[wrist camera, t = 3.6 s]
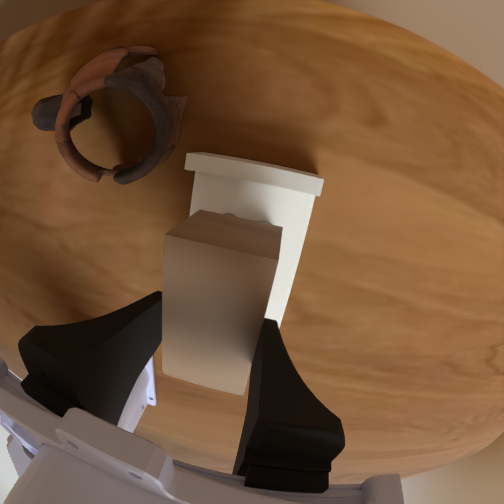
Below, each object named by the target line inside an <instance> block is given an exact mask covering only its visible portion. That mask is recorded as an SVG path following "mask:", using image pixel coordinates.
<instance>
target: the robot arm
mask: <svg viewBox="0 0 504 504" xmlns="http://www.w3.org/2000/svg"><path fill="white" fill-rule="evenodd" d="M161 341H162V292H160V291H156V292H154V293H152V294H150V295H148V296H146V297H144V298H142V299H140V300H138V301H136V302H134V303H132V304H130V305H128V306H126V307H123V308H121V309H119V310H117V311H114V312H112V313H109V314H107V315H104V316H101V317H98V318H94V319H91V320H86V321H82V322H77V323H72V324H65V325H54V326H35V327H33V328H32V329H31V330H30V331H29V332H28V333H27V334H26V335H25V336H23V337H22V338H21V339H20V340H19V343H18V347H19V352H20V355H21V357H22V360H23V362H24V364H25V366H26V369H27V371H28V373H29V374H28V375H27V377H26V378H25V379H24V380H23V381H21V380H19V379H18V378H17V377H16V376H15V375H13V374H12V373H11V372H10V371H8V367H7V365H6V363H5V361H4V360H3V359H2V357H1V356H0V425H1V426H3V427H4V428H5V429H6V430H7V431H8V432H9V433H10V435H9V437H8V438H7V441H8V444H7V449H8V452H9V454H10V457H11V459H12V461H13V464H14V466H15V469H16V471H17V473H18V476H19V479H18V480H17V482H16V483H15V485H14V487H13V488H12V490H11V491H10V493H9V495H8V496H7V498H6V499H5V501H4V503H3V504H404V500H403V492H402V486H401V480H400V474H388V475H378V476H373V477H370V478H368V479H366V480H365V481H364V482H363V483H362V484H340V485H329V474H328V472H330V471H331V462H332V461H333V460H334V459H335V458H336V457H337V456H338V455H339V453H340V452H341V451H342V450H343V449H344V447H345V436H344V431H343V427H342V423H341V420H340V419H339V418H338V417H337V416H336V415H334V414H333V413H332V412H331V411H330V410H328V409H327V408H326V407H325V406H324V405H323V404H322V403H321V402H320V401H319V400H318V399H317V398H316V397H315V396H314V394H313V393H312V392H311V391H310V389H309V388H308V387H307V386H306V384H305V383H304V382H303V380H302V379H301V377H300V375H299V374H298V372H297V371H296V369H295V367H294V365H293V363H292V361H291V359H290V357H289V355H288V353H287V350H286V348H285V345H284V343H283V340H282V337H281V334H280V331H279V327H278V322H277V321H276V320H273V319H268V318H264V321H263V324H262V327H261V331H260V335H259V339H258V343H257V346H256V350H255V354H254V357H253V361H252V365H251V373H250V383H249V394H248V404H247V411H246V416H245V421H244V426H243V430H242V435H241V439H240V444H239V448H238V452H237V456H236V461H235V465H234V469H233V473H232V474H228V473H223V472H218V471H214V470H210V469H206V468H202V467H198V466H195V465H191V464H188V463H184V462H181V461H178V460H174V459H172V458H171V457H170V455H169V454H168V452H167V451H166V450H164V449H163V448H162V447H160V446H159V445H157V444H156V443H154V442H152V441H150V440H148V439H145V438H143V437H141V436H139V435H136V434H134V433H133V431H134V429H135V427H136V425H137V423H138V421H139V420H140V418H141V416H142V414H143V412H144V410H145V408H146V406H147V404H150V405H153V406H155V405H156V403H157V402H156V392H155V380H154V367H153V354H154V352H155V351H156V349H157V348H158V346H159V345H160V343H161Z"/></svg>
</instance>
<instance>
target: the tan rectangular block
mask: <svg viewBox="0 0 504 504" xmlns="http://www.w3.org/2000/svg"><path fill="white" fill-rule="evenodd" d="M282 230H283V227H281V226H276V225H272V224H267V223H263V222H258V221H253V220H249V219H244V218H239V217H235V216H230V215H225V214H220V213H215V212H210V211H205V210H198V211H197V212H196V213H194V214H193V215H191V216H190V217H189V218H187V219H186V220H184V221H183V222H182V223H180V224H179V225H177V226H176V227H175V228H173V229H172V230H171V231H169V232H168V233H167V234H165V242H164V259H163V281H162V367H163V374H166V375H169V376H172V377H176V378H179V379H182V380H185V381H188V382H192V383H195V384H199V385H202V386H206V387H210V388H213V389H217V390H221V391H225V392H229V393H233V394H238V395H242V396H243V395H244V391H245V388H246V384H247V380H248V377H249V373H250V370H251V365H252V361H253V357H254V354H255V350H256V346H257V343H258V339H259V335H260V331H261V327H262V324H263V321H264V317H265V313H266V309H267V305H268V302H269V298H270V294H271V290H272V286H273V282H274V278H275V274H276V270H277V265H278V261H279V254H280V246H281V238H282Z"/></svg>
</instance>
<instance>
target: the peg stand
mask: <svg viewBox="0 0 504 504" xmlns="http://www.w3.org/2000/svg"><path fill="white" fill-rule="evenodd" d="M184 170H191V171H195V178H194V185H193V192H192V200H191V208H190V216H191V215H193V214H194V213H196V212H197V211H198V210H205V211H210V212H215V213H220V214H225V215H230V216H235V217H239V218H244V219H249V220H253V221H258V222H263V223H267V224H272V225H276V226H281V227H283V230H282V238H281V246H280V254H279V261H278V265H277V270H276V274H275V278H274V282H273V286H272V290H271V294H270V298H269V302H268V305H267V309H266V313H265V317H264V318H268V319H273V320H276V321H277V322H278V327H279V328H280V324H281V321H282V318H283V314H284V311H285V308H286V304H287V301H288V297H289V294H290V290H291V287H292V283H293V280H294V276H295V272H296V269H297V265H298V262H299V258H300V254H301V250H302V247H303V243H304V239H305V235H306V231H307V227H308V223H309V219H310V215H311V211H312V207H313V203H314V199H315V195H316V196H320V194H321V190H322V186H323V182H324V179H323V178H322V177H321V176H320V175H318V174H314V173H310V172H305V171H301V170H297V169H292V168H288V167H283V166H278V165H274V164H269V163H264V162H259V161H253V160H248V159H243V158H237V157H231V156H225V155H219V154H212V153H206V152H194V153H187V155H186V161H185V168H184ZM190 216H189V217H190Z"/></svg>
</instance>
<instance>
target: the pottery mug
mask: <svg viewBox="0 0 504 504" xmlns="http://www.w3.org/2000/svg"><path fill="white" fill-rule="evenodd" d="M158 53H159V51H158V50H156V49H155V48H152V47H148V46H132V47H128V48H124V47H117V48H114V49H111V50H108V51H105V52H103V53H101V54H99V55H98V56H96V57H95V58H93V59H92V60H90V61H89V62H88V63H87V64H85V65H84V66H83V67H82V68H81V69H80V70H79V71H78V72H77V73H76V74H75V75H74V77H73V78H72V80H71V82H70V85H69V86H68V87H67V88H66V90H65V91H64V93H63V94H62V95H55V96H51V97H47V98H43V99H41V100H39V101H38V102H37V103H36V104H35V105H34V107H33V110H32V118H33V123H34V125H35V126H36V127H37V128H38V129H40V130H43V131H55V136H56V143H57V145H58V149H59V151H60V153H61V155H62V157H63V158H64V160H65V161H66V163H67V164H68V165H69V166H70V168H71V169H73V170H74V171H75V172H76V173H77V174H79V175H80V176H82V177H83V178H85V179H87V180H89V181H92V182H98V181H99V180H100V179H101V176H102V175H104V176H110V177H113V179H114V181H116V182H118V183H119V184H121V185H124V184H128V183H131V182H134V181H136V180H138V179H139V178H142V177H144V176H145V175H147V174H148V173H149V172H150V171H152V169H154V168H156V167H157V166H159V165H160V164H161V163H163V162H164V161H165V160H166V159H167V158H168V156H169V155H170V154H171V153H172V152H173V151H174V149H175V146H174V144H175V143H176V142H177V141H178V140H179V138H180V134H181V126H182V118H183V114H184V109H185V107H186V104H187V99H188V96H187V95H184V96H166V95H163V94H162V92H163V89H164V88H165V86H166V77H165V74H164V63H163V62H162V61H160V60H159V59H157V58H156V57H150V58H149V59H147V60H146V61H145V62H140V63H137V64H134V65H132V66H131V67H128V68H126V69H123V70H121V71H118V72H117V69H118V66H119V65H120V63H121V62H122V61H123V60H124V59H126V58H128V57H131V56H135V55H141V54H149V55H158ZM106 88H114V89H120V90H124V91H127V92H129V93H131V94H132V95H134V96H135V97H137V98H138V99H139V100H141V101H142V102H143V104H145V106H146V107H147V108H148V109H149V110H150V112H151V116H152V118H153V122H154V128H155V139H154V142H153V145H152V148H151V149H150V152H149V153H148V154H147V155H146V157H145V158H144V159H143V160H142V161H140V162H139V163H137V164H136V165H135V164H134V163H124V164H118V165H116V166H114V168H113V170H111V169H106V168H103V167H100V166H97V165H95V164H93V163H91V162H90V161H88V160H87V159H86V158H84V157H83V156H82V155H81V154H80V153H79V152H78V150H77V149H76V147H75V146H74V144H73V142H72V139H71V136H70V131H71V130H72V129H73V128H74V127H75V126H76V125H78V124H79V123H81V122H83V121H84V120H86V119H89V118H90V117H91V107H92V102H93V101H92V99H91V98H90V96H89V94H90V93H92V92H94V91H97V90H101V89H106Z"/></svg>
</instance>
